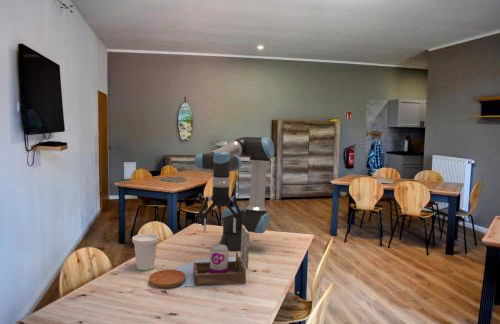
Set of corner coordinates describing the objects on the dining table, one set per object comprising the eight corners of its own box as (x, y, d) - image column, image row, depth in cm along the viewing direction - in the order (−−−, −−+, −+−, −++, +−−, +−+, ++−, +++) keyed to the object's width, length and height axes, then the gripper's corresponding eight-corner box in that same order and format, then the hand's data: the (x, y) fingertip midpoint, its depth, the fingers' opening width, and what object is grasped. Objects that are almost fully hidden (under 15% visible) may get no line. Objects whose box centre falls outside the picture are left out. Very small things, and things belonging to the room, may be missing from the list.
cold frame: (193, 272, 178) (194, 225, 176) (241, 270, 183) (243, 224, 181) (194, 286, 163) (195, 234, 161) (247, 283, 168) (249, 233, 166)
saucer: (167, 293, 156) (167, 286, 156) (141, 283, 165) (141, 277, 164) (193, 280, 170) (193, 274, 170) (167, 272, 178) (167, 266, 178)
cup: (163, 266, 186) (164, 235, 184) (147, 274, 174) (147, 242, 173) (144, 261, 191) (144, 232, 190) (126, 269, 180) (126, 238, 178)
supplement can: (224, 282, 168) (225, 250, 167) (207, 280, 170) (208, 248, 169) (229, 275, 176) (230, 244, 175) (212, 273, 178) (213, 243, 177)
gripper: (193, 187, 163) (192, 234, 165) (249, 187, 168) (247, 233, 170) (192, 184, 170) (191, 230, 172) (246, 185, 175) (244, 229, 177)
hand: (219, 232), depth 171 cm, fingers open, 13 cm apart
